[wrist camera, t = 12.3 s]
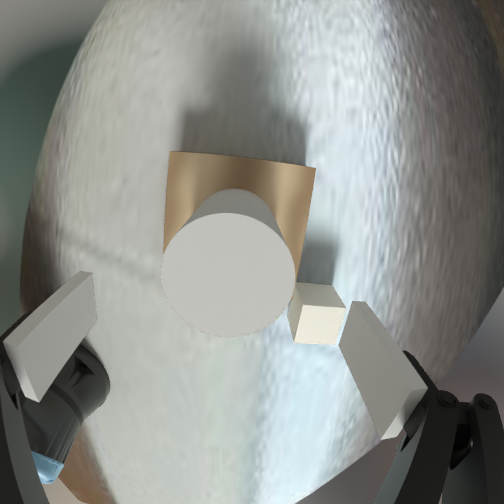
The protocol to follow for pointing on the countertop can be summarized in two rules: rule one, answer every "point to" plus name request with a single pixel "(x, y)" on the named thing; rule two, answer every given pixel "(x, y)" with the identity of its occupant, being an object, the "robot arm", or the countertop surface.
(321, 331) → the cream block
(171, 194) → the oak block
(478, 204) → the countertop surface
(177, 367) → the countertop surface
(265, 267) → the grey cylinder
